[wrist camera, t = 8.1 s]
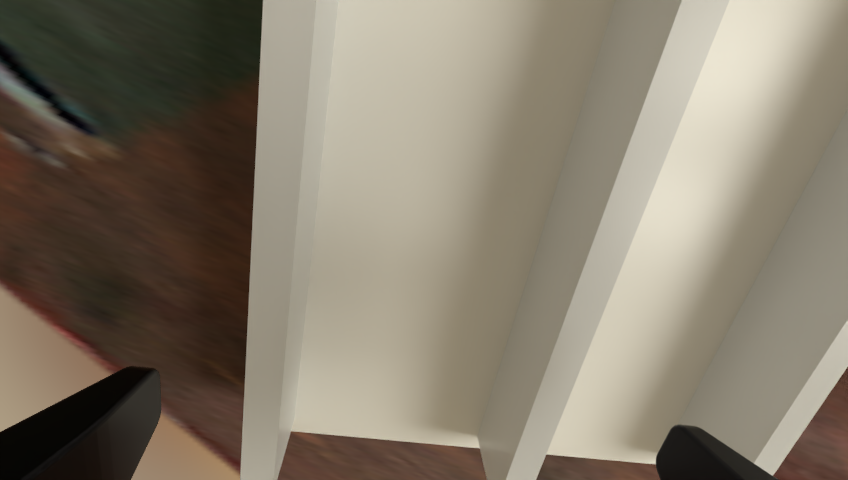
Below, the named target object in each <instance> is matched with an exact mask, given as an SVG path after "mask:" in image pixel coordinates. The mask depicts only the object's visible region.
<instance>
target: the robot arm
mask: <svg viewBox="0 0 848 480" xmlns="http://www.w3.org/2000/svg"><path fill="white" fill-rule="evenodd" d="M160 414H161V390H160V375H159V372H158V371H157V370H156V369H154V368H146V367H137V366H130V367H126V368H124V369H122V370H120V371H118V372H116V373H114V374H112V375H110V376H108V377H106V378H104V379H102V380H100V381H99V382H97V383H95V384H93V385H91V386H89V387H87V388H85V389H83V390H81V391H79V392H77V393H75V394H74V395H71V396H69V397H68V398H66V399H64V400H62V401H60V402H58V403H56V404H54V405H52V406H50V407H48V408H46V409H44V410H42V411H40V412H38V413H36V414H34V415H33V416H31V417H29V418H27V419H25V420H23V421H21V422H19V423H17V424H15V425H13V426H11V427H9V428H7V429H5V430H4V431H2V432H0V480H131V478H132V476H133V474H134V472H135V470H136V468H137V466H138V463H139V461H140V459H141V457H142V455H143V453H144V451H145V449H146V447H147V445H148V443H149V441H150V439H151V437H152V434H153V432H154V430H155V428H156V426H157V424H158V421H159V418H160ZM656 468H657V471H658V474H659V477H660V479H661V480H778V479H777V478H775V477H774V476H772V475H771V474H769V473H768V472H766V471H765V470H763V469H762V468H760V467H759V466H757V465H756V464H754V463H753V462H751V461H750V460H748V459H747V458H745V457H744V456H742V455H741V454H739V453H738V452H736V451H735V450H733V449H732V448H730V447H729V446H727V445H726V444H724V443H723V442H721V441H720V440H718V439H717V438H715V437H714V436H712V435H711V434H709V433H708V432H706V431H705V430H703V429H701V428H699V427H697V426H691V425H682V424H678V425H675V426H673V427H672V428H671V429H670V431H669V433H668V434H667V436H666V438H665V440H664V442H663V444H662V446H661V448H660V449H659V451H658V453H657V456H656Z"/></svg>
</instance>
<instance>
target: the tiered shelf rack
mask: <svg viewBox="0 0 848 480" xmlns="http://www.w3.org/2000/svg"><path fill="white" fill-rule="evenodd" d="M847 367H848V0H263V13H262V34H261V55H260V76H259V97H258V118H257V139H256V159H255V180H254V201H253V222H252V243H251V264H250V285H249V306H248V327H247V348H246V369H245V390H244V411H243V431H242V452H241V473H240V480H277V479H278V475H279V472H280V468H281V465H282V461H283V458H284V454H285V451H286V447H287V443H288V440H289V436H290V433H291V431H295V432H306V433H317V434H328V435H339V436H350V437H361V438H372V439H383V440H394V441H405V442H416V443H427V444H438V445H449V446H460V447H471V448H480V451H481V456H482V460H483V464H484V469H485V473H486V478H487V480H536V478H537V476H538V473H539V471H540V468H541V466H542V463H543V461H544V459H545V456H546V454H548V455H559V456H570V457H581V458H592V459H603V460H614V461H625V462H636V463H647V464H656V456H657V453H658V451H659V449H660V448H661V446H662V444H663V442H664V440H665V438H666V436H667V434H668V433H669V431H670V429H671V428H672V427H673V426H675V425H678V424H682V425H691V426H697V427H699V428H701V429H703V430H705V431H706V432H708V433H709V434H711V435H712V436H714V437H715V438H717V439H718V440H720V441H721V442H723V443H724V444H726V445H727V446H729V447H730V448H732V449H733V450H735V451H736V452H738V453H739V454H741V455H742V456H744V457H745V458H747V459H748V460H750V461H751V462H753V463H754V464H756V465H757V466H759V467H760V468H762V469H763V470H765V471H766V472H768V473H769V474H771V475H772V476H773V475H774V473H775V472H776V470H777V469H778V468H779V466H780V465H781V463H782V462H783V460H784V459H785V457H786V456H787V454H788V453H789V452H790V450H791V449H792V447H793V446H794V444H795V443H796V441H797V440H798V438H799V437H800V435H801V434H802V433H803V431H804V430H805V428H806V427H807V425H808V424H809V422H810V421H811V419H812V418H813V417H814V415H815V414H816V412H817V411H818V409H819V408H820V406H821V405H822V403H823V402H824V400H825V399H826V398H827V396H828V395H829V393H830V392H831V390H832V389H833V387H834V386H835V384H836V383H837V382H838V380H839V379H840V377H841V376H842V374H843V373H844V371H845V370H846V368H847Z"/></svg>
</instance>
